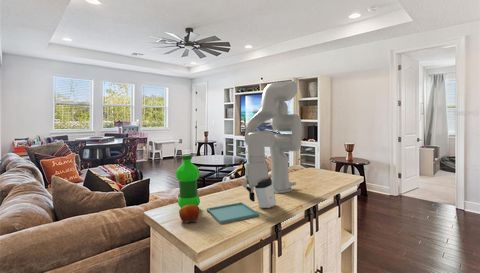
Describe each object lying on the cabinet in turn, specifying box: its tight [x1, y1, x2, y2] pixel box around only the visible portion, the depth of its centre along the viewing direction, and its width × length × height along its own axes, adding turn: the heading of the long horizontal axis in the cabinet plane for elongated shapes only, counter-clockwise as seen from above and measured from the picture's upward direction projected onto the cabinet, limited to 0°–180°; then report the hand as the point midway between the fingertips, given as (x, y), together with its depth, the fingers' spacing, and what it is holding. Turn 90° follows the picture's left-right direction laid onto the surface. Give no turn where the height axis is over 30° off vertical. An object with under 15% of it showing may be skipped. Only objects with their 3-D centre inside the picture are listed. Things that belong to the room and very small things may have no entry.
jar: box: [254, 176, 277, 209], centre depth 118 cm, size 9×8×12 cm
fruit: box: [178, 204, 201, 225], centre depth 104 cm, size 8×8×8 cm
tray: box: [206, 202, 260, 225], centre depth 111 cm, size 17×17×1 cm
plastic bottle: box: [175, 154, 201, 209], centre depth 117 cm, size 10×10×25 cm
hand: (257, 199), depth 117 cm, fingers open, 4 cm apart
